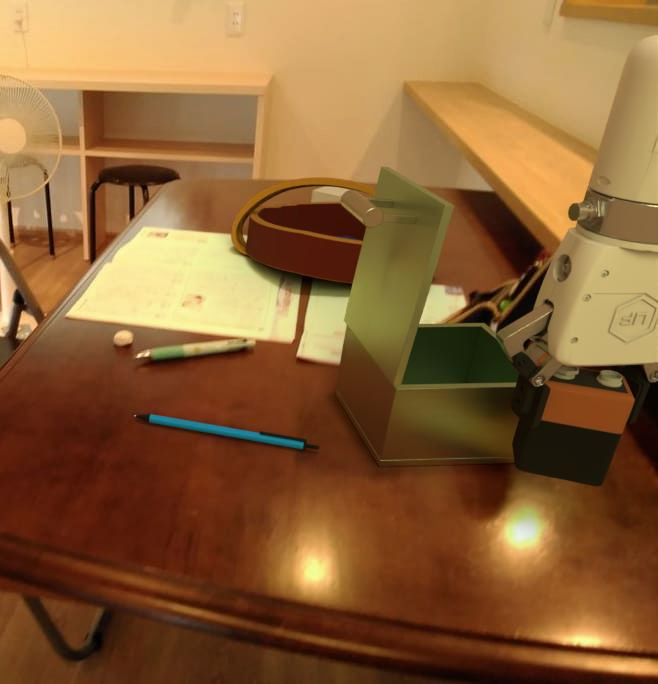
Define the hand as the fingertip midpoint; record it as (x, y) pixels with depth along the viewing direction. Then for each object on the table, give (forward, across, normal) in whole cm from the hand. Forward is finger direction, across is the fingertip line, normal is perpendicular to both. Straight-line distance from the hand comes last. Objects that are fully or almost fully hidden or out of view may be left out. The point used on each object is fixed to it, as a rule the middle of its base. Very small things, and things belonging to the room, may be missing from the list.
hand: (571, 415), depth 59 cm
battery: (+6, 0, 0) cm, 6 cm away
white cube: (+10, +7, +86) cm, 87 cm away
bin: (+9, -6, +12) cm, 16 cm away
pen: (+8, -28, +11) cm, 31 cm away
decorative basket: (+9, -2, +59) cm, 60 cm away
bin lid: (-9, -12, +12) cm, 19 cm away
